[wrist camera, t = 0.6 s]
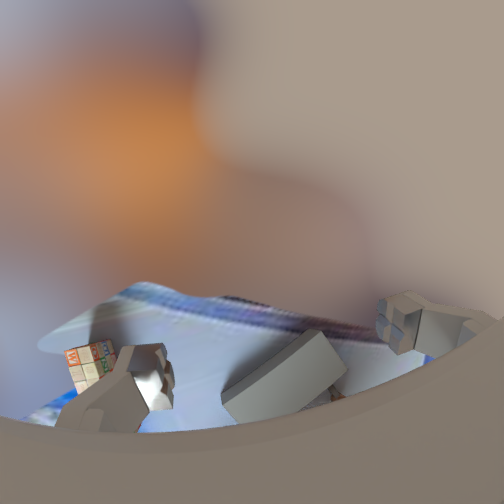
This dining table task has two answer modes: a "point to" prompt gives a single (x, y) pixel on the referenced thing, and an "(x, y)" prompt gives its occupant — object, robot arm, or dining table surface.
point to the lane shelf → (286, 380)
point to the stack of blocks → (91, 364)
